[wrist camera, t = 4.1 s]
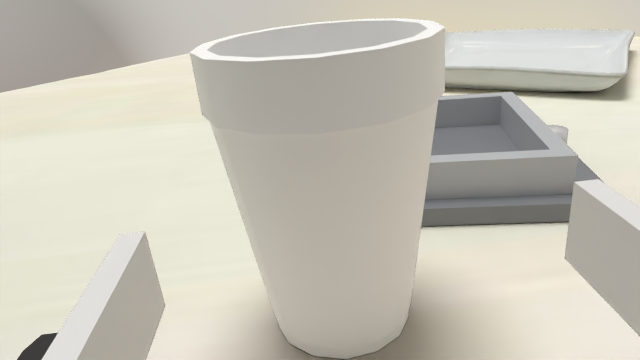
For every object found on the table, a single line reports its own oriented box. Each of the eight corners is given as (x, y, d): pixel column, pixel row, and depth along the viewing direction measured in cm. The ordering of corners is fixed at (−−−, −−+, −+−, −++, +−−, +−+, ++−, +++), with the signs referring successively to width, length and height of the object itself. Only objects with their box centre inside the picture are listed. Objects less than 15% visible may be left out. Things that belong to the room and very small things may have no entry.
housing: (288, 230, 32) (280, 178, 30) (317, 138, 48) (313, 101, 46) (620, 219, 29) (630, 161, 28) (532, 125, 45) (535, 86, 44)
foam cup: (303, 246, 30) (275, 23, 24) (459, 273, 26) (465, 14, 20) (206, 354, 22) (135, 62, 17) (407, 417, 18) (395, 60, 13)
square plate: (377, 93, 63) (375, 63, 62) (446, 53, 84) (446, 29, 82) (621, 105, 49) (627, 67, 48) (631, 53, 70) (636, 25, 69)
